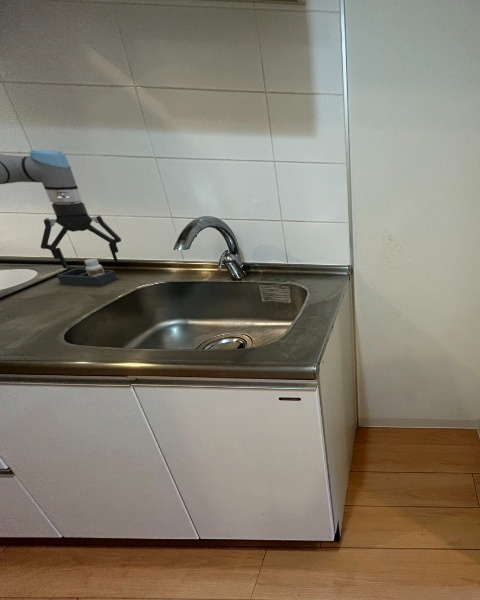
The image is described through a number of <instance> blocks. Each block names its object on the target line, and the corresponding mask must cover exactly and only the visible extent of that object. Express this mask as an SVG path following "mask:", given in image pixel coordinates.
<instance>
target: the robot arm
mask: <svg viewBox="0 0 480 600" xmlns="http://www.w3.org/2000/svg"><path fill="white" fill-rule="evenodd" d="M13 183H15V184H16V183H41V184H42V186H43V188H44V190H45V193H46V195H47V198H48V200H49V202H50V203H51V207H52V210H53V212H54V214H55V218H49V217H45V218H44V219H43V223H44V231H43V234H42V239H41V243H40V248H41V249H42V250H49V251H50V252H51V254H52V257H53V259H55V260H59V262H60V264H61V266H62V268H63V269H68V264H67V262H66V259H65V257H64V254H63V252H62V250H61V248H60V247H58V246H59V243H61V241H62V240H63V238H64V237H65V235H66V234H67V232H73V233H74V232H85V231H89V232H90V233H91V232H92V233H93V234H95V235H96V236H98V237H99V238H101V239H102V240H104V241H106V242H108V247H109V250H110V252H111V255H112V258H113V260H114V263H118V261H119V260H118V257H117V253H119V248H118V245H117V243H120V242H122V238H121V237H120V236H119V234H118V233H116V232H115V231H114V230H113V229H112V228H111V227H110V226H109V225H108V224H107V223H106V222H105V221H104V219H103V217H102V216H101V215H97V216H90V215H89V213H88V210H87V208H86V206H85V205H86V204H85V203H84V202H83V197H82V194H81V192H80V189H79V187H78V185H77V183H76V180H75V176H74V174H73V170H72V166H71V165H70V163H69V161H68V158H67V157H66V154H65V153H64V152H62V151H60V150H56V149H55V150H54V149H30V150H29V155H11V154H4V153H3V154H2V153H0V185H6V184H7V185H8V184H13ZM92 222H94V223H96V224H99V225H100V226H101V227H102V228H103V229H104V230H105V231H106V232H107V233H108V235H107V234H105V233H104V232H102V231H101V230H99V229H98V228H96V227H95V226H94V225H92ZM55 224H58V225H60V226H61V227H62V228H61V230H60V231H59V233H58V234H57V236H56V237H55V239H54V240H53V242H52V243H51V244H49V240H50V235H51V232H52V227H54V226H55ZM109 235H110V236H109Z"/></svg>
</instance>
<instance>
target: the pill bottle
mask: <svg viewBox="0 0 480 600" xmlns="http://www.w3.org/2000/svg"><path fill="white" fill-rule="evenodd" d="M83 263H84V265H85V269H86V271H87V273H88V275H89V277H98V276H101V275H103V274H105V272H104V270H105V269H104V267H103V265H102V264H100V263H99V260H98V258H88V259H85V260H84V262H83Z"/></svg>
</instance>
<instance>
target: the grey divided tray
mask: <svg viewBox="0 0 480 600" xmlns="http://www.w3.org/2000/svg"><path fill="white" fill-rule="evenodd" d="M103 270H104V272H105V274H103V275H101V276H98V277H89V275H88V273H87V271H86V268H80V267H79V268H78V267H77V268H76V267H75V268H73V269H70V270H67V271H65V272H62V273H59V274H56V277H57V279H58V282H59V284H60V285H63V286H64V285H65V286H79V287H80V286H82V287H97V288H101V287H103V286H105V285H108V284H110V283H112V282H115V281H116V280H118V278H117V275H116V272H115V270H112V269H111V270H110V269H103Z"/></svg>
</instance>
